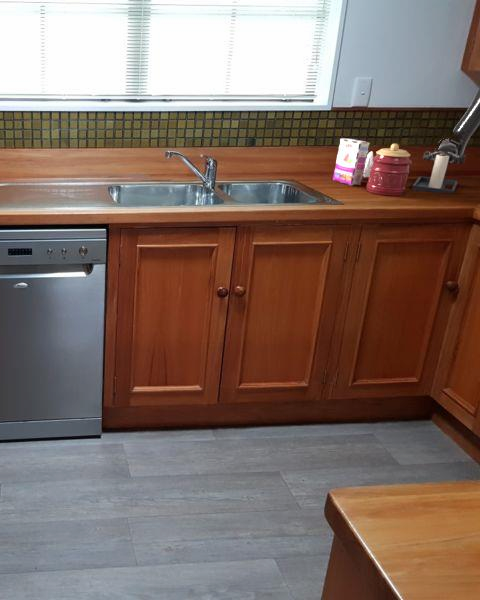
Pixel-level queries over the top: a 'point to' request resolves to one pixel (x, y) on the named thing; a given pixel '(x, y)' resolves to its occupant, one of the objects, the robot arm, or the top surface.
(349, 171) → the candy bar box
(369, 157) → the shaker set
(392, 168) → the kitchen canister
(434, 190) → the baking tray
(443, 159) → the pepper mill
